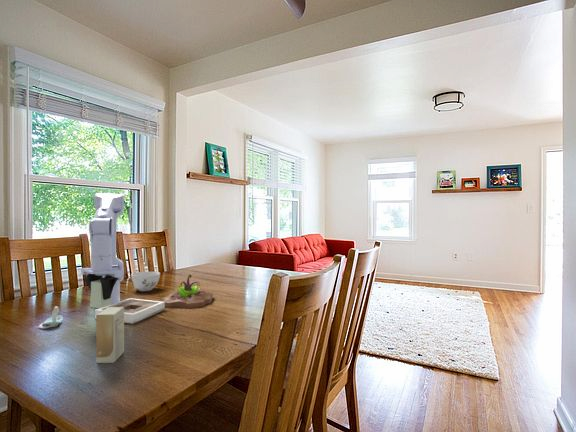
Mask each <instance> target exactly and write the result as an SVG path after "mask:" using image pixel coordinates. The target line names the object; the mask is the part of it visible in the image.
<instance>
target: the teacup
mask: <svg viewBox="0 0 576 432" xmlns="http://www.w3.org/2000/svg"><path fill="white" fill-rule="evenodd" d="M130 276H131V280H132V284H133V285H134V287H135V288H136V289H137V290H138V291H139V292H149V291H152V290H153V289H154V288H155V287H156V286H157V284H158V283H159V280H160V277H161V272H158V271H139V272H132V273H131V275H130Z"/></svg>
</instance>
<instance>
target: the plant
mask: <svg viewBox="0 0 576 432" xmlns="http://www.w3.org/2000/svg"><path fill="white" fill-rule="evenodd" d="M192 278H193V275H192V274H188V275H187V278H186V281H184V280H183V281H181V282H180V283H179V284H178V289H175V292H171V293H170V294H169V295H167V296H163V297H162V298H160V299H161V302H165V306H164V308H168V309H169V308H170V309H171V308H173V309H174V308H178V309H179V308H180V309H181V308H183V309H197V308H202V307H203V308H204V307H205V306H206V305H210V304H211V303H212V301H213V298H214V293H212V292H209V291H207V290H202V291H201V290H200V289H201V288H198V287H201V282H199V281H193V282H192V283H190V279H192ZM194 284H196V285H194ZM193 285H194V286H193Z"/></svg>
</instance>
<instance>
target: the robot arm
mask: <svg viewBox="0 0 576 432" xmlns="http://www.w3.org/2000/svg"><path fill="white" fill-rule="evenodd" d="M93 205H94V209H95V213H94V216H93V218H92V219H90V220H89V223H88V233H89V242H90V243H91V244H90V267H82V268H80V271H81V272H80V275H83V276H84V277H83V280H84V282H85V283H86V285H87V286H88V289H89V291H90V292H89V293H91V282H92V281H96V280H100V282H101V285H102V290H103V299H104V300H106V299H109V298H110V297H111V304H114V303H117V302H120V301H121V282H123V280H124V277H125V273H124V272H125V267H124V266H125V265H124V262H123V260H121V259H120V258H119V257H117V221H118V219H119V217H120V216H123V215H124V212H125V210H124V209H125V195H124V194H123V193H98V192H96V193H95V194H94V197H93ZM85 275H87V276H85ZM90 307H91V304H90Z"/></svg>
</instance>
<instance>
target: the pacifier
mask: <svg viewBox="0 0 576 432" xmlns="http://www.w3.org/2000/svg"><path fill="white" fill-rule="evenodd" d="M59 312H60V308H59V306H57V305H55V306H54V308H53V310H52V312H51V316H50V317H48V318H47V319H46V320H45V321H44V322H42V323H40V324H39V325H38V328H39V329H49V328H53V327H57V326H59V324H61V322H62V321H63V320H64V317H63V315H61V314H59Z"/></svg>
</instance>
